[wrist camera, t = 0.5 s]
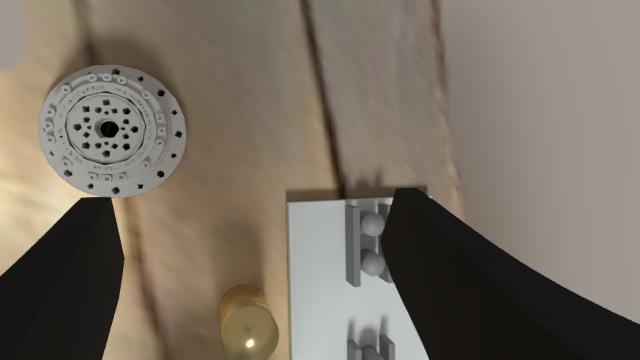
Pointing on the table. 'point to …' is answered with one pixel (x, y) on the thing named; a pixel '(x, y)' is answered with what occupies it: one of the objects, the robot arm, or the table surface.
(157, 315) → the table surface
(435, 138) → the table surface
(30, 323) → the robot arm
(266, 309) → the pin
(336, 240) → the chain base
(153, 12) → the table surface
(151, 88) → the mechanical component
